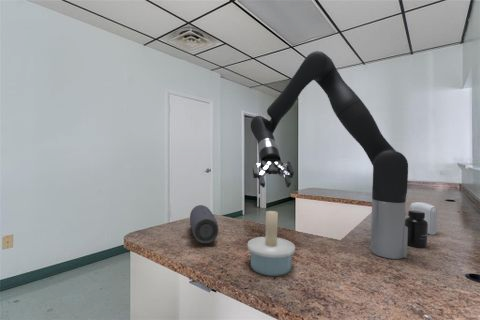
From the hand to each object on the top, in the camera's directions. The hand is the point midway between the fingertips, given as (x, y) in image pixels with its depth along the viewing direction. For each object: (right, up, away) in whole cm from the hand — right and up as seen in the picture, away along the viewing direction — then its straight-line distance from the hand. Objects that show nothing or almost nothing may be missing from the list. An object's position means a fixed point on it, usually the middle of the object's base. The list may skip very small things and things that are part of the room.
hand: (276, 185), depth 82 cm
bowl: (-4, -21, -15) cm, 26 cm away
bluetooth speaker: (-26, -20, +9) cm, 34 cm away
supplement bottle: (+51, -22, +6) cm, 56 cm away
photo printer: (+66, -22, +23) cm, 73 cm away
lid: (-4, -16, -15) cm, 22 cm away
